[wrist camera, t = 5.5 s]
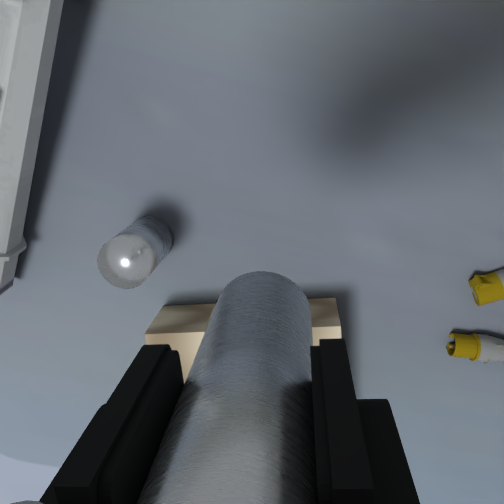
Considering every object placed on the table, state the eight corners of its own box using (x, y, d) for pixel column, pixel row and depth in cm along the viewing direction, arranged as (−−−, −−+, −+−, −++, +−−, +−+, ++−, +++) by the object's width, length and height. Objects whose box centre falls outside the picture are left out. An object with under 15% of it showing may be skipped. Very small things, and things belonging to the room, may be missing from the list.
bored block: (335, 297, 30) (340, 326, 26) (341, 442, 33) (347, 485, 29) (163, 305, 31) (144, 334, 27) (187, 443, 35) (174, 484, 31)
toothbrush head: (-82, 279, 28) (-48, -230, 16) (-11, 236, 34) (51, -160, 22) (-6, 313, 28) (81, -163, 17) (52, 265, 34) (146, -111, 23)
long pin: (308, 268, 13) (376, 1295, 2) (313, 356, 14) (379, 1389, 3) (210, 273, 14) (-236, 1154, 2) (221, 358, 14) (-50, 1281, 3)
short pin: (169, 214, 29) (143, 237, 24) (176, 257, 30) (153, 287, 25) (125, 218, 29) (92, 240, 24) (133, 260, 30) (103, 290, 25)
